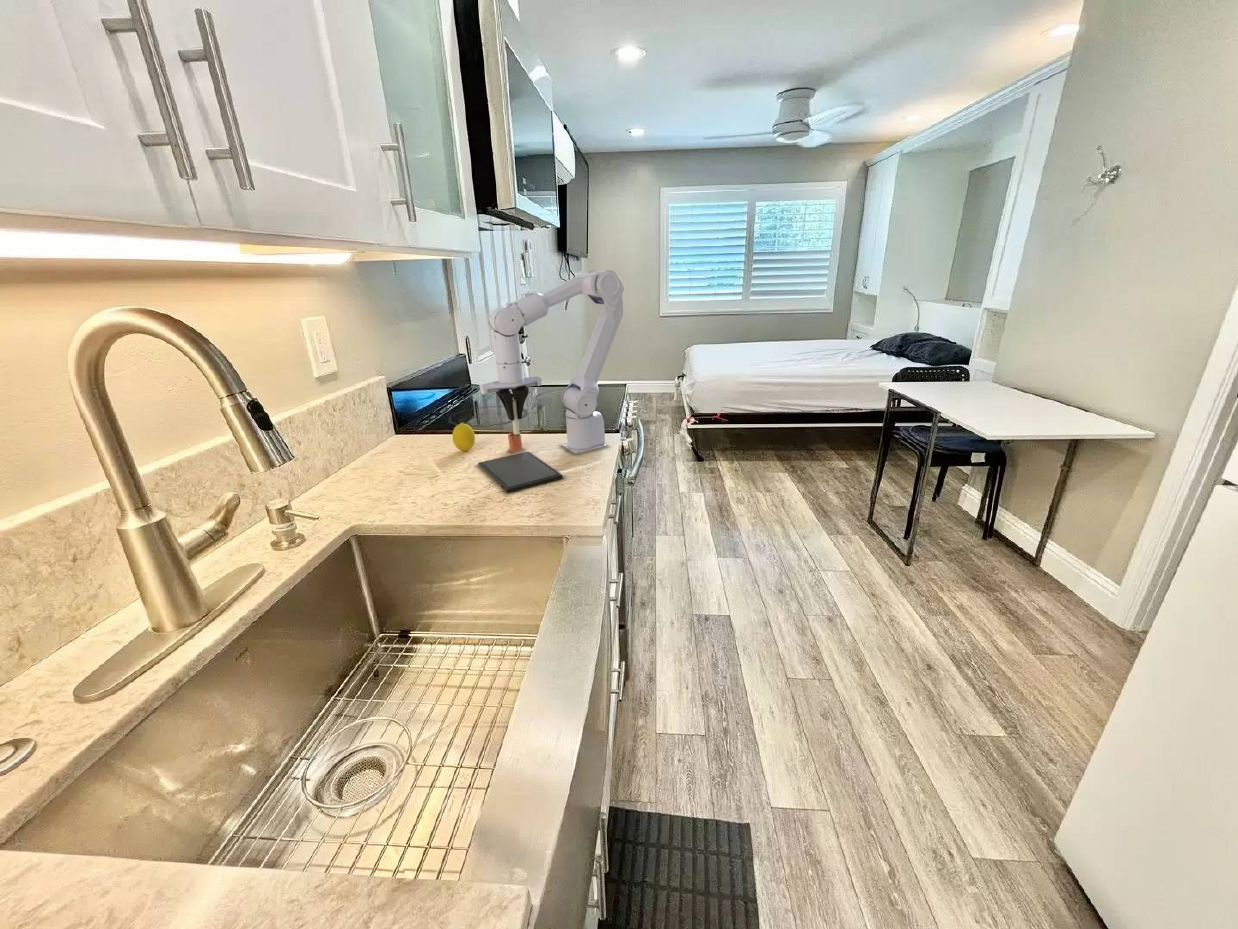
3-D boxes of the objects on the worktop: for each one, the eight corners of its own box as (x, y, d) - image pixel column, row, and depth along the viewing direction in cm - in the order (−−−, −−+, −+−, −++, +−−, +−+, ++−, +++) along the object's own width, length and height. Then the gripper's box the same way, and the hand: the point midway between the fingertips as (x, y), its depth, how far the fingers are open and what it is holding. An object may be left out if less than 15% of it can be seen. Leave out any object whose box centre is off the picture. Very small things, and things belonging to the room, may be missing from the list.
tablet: (528, 454, 125) (528, 450, 124) (562, 478, 110) (562, 474, 109) (478, 466, 118) (478, 462, 118) (507, 493, 103) (507, 489, 103)
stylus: (518, 434, 121) (514, 399, 117) (520, 436, 120) (516, 400, 116) (513, 435, 120) (509, 400, 117) (515, 437, 119) (511, 401, 116)
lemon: (470, 456, 124) (466, 426, 121) (451, 455, 125) (446, 425, 122) (480, 449, 129) (476, 420, 126) (461, 448, 130) (457, 419, 127)
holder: (519, 447, 130) (517, 431, 128) (524, 451, 127) (522, 434, 125) (508, 450, 128) (506, 434, 126) (512, 453, 125) (510, 437, 124)
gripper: (530, 356, 120) (535, 410, 125) (472, 363, 112) (480, 420, 118) (543, 360, 114) (547, 416, 119) (482, 368, 107) (490, 427, 112)
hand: (515, 418), depth 118 cm, fingers closed on stylus, 1 cm apart
